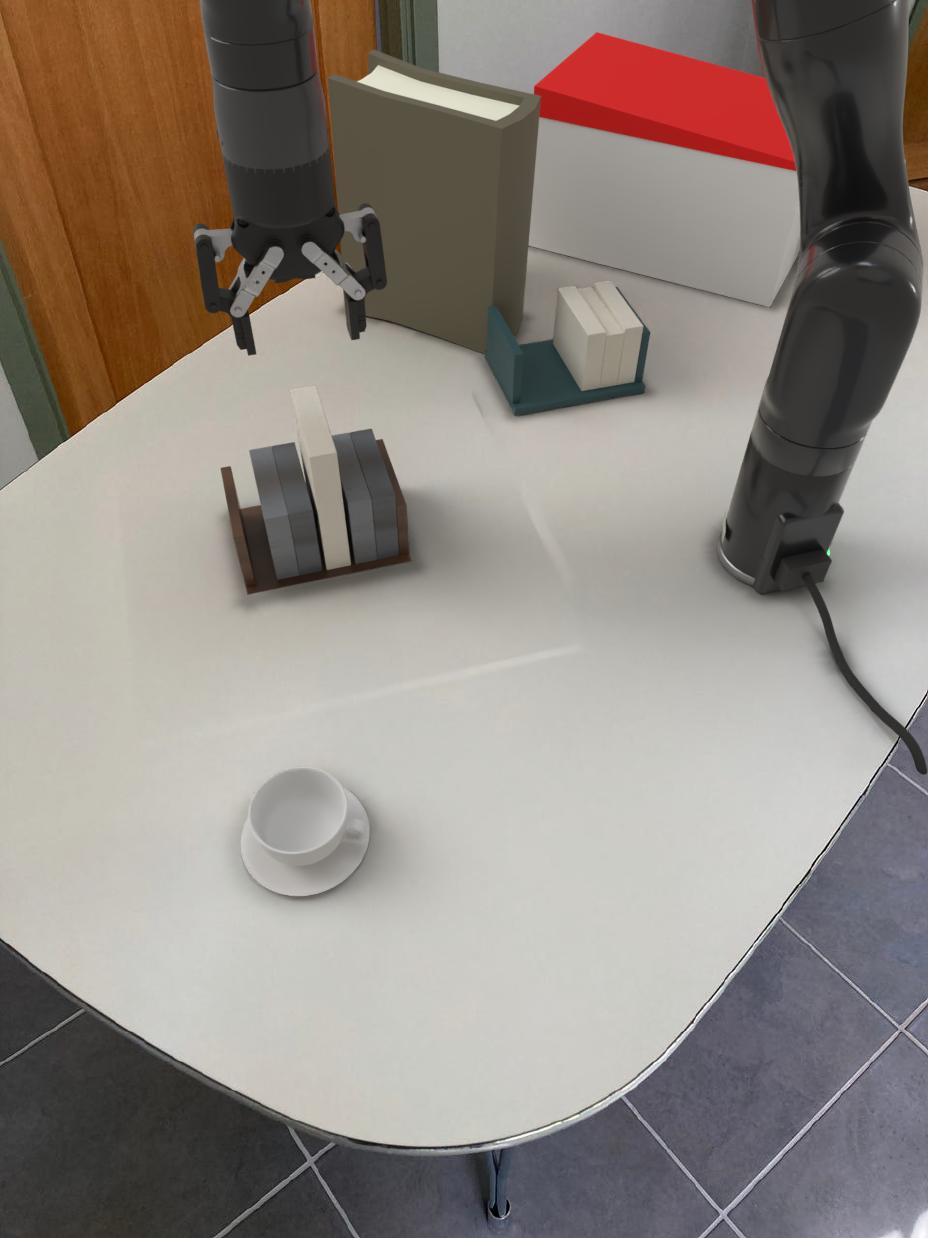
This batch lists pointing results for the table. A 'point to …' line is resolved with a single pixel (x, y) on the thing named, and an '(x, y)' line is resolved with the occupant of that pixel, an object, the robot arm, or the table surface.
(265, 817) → the teacup
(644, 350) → the teal book rack
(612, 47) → the red-lidded white box
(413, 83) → the book
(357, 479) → the brown book rack
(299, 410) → the white book
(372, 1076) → the table surface
